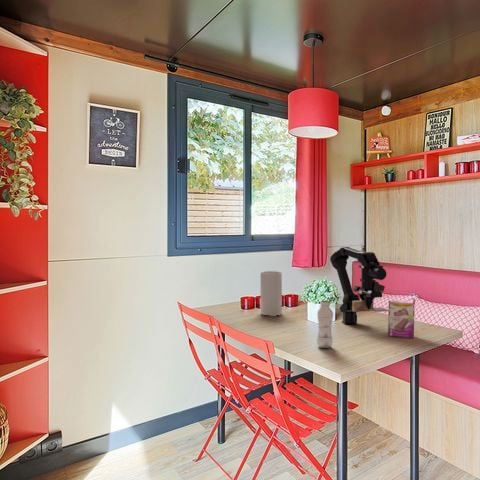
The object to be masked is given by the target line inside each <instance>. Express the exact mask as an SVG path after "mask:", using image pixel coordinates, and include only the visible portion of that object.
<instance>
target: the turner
mask: <svg viewBox="0 0 480 480" xmlns="http://www.w3.org/2000/svg"><path fill="white" fill-rule="evenodd" d="M352 311H354V312H356V313H359V312H375V313H376V312H377V313H378V312H388V309H387V308H385V307H374V300H373V301H372V304H371V307H370V309H367V306H366V303H365V300H361V299H359V301H352Z"/></svg>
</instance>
